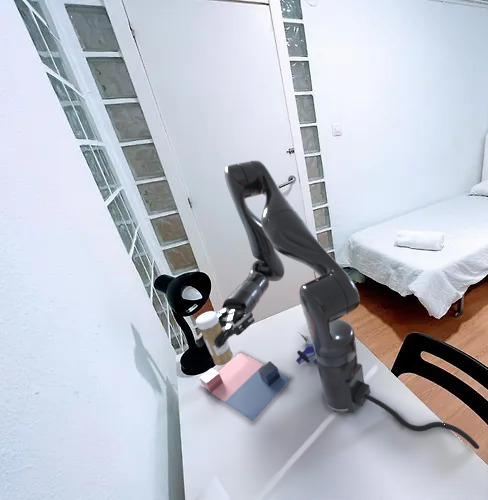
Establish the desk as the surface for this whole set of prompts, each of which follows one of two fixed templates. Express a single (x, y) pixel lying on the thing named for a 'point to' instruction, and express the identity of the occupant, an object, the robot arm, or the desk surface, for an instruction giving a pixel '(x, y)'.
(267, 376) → the blue block
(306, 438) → the desk surface
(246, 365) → the sorting board
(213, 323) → the sprinkles bottle
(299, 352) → the toy airplane
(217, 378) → the pink block
